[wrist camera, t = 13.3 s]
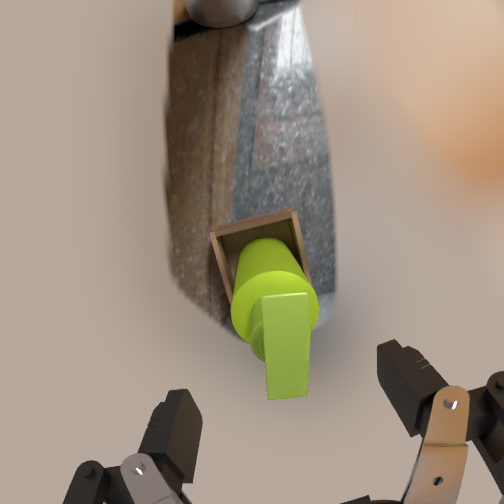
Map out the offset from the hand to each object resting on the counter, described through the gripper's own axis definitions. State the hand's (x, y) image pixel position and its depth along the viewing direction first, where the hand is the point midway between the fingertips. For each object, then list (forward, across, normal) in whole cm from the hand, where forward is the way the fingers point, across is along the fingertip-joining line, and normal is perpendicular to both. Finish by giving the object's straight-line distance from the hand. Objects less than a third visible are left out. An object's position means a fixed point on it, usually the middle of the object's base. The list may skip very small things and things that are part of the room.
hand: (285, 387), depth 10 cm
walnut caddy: (+22, 0, 0) cm, 22 cm away
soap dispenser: (+21, 0, 0) cm, 21 cm away
